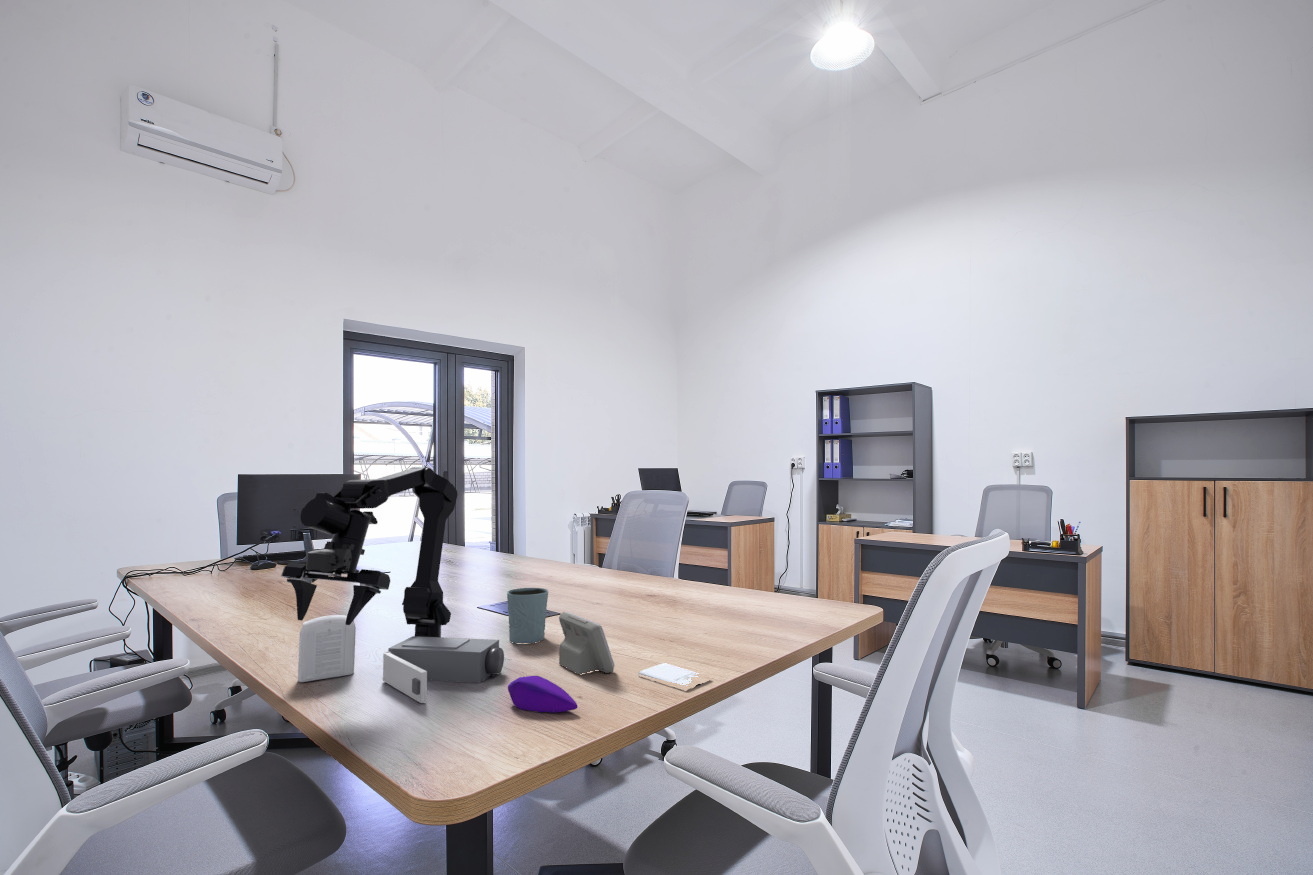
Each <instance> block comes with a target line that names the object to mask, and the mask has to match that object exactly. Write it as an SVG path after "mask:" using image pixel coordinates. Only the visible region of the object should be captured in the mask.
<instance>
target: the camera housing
mask: <svg viewBox="0 0 1313 875" xmlns="http://www.w3.org/2000/svg"><path fill="white" fill-rule="evenodd" d="M388 651H391V654H393V655H395V656H397V657H399V658H401V659H403V660H405V661H407V662H409V663H411V664H413V665H415V666H417V667H419V668H421V669H423V670H425V671H427V681H433V682H434V681H435V682H436V681H437V682H457V683H472V684H473V683H474V684H476V683H477V684H481V683H482V682H484V681H485V680H486V679H487V678H488V677H490V676H491V675H499V674H500V673H501V672H502V669H503V667H504V662H505V654H504V653H505V652H504V650H503V648H502V647H500V639H492V638H490V639H489V638H467V637H465V638H462V637H445V636H443V637H442V636H441V637H420V636H415V635H413V636H411V637H408V638H406V639H404V640H402V641H400V642H399V643H396V644H394V645H392V646H390V647H388ZM388 651H387V652H388Z"/></svg>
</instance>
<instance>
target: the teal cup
mask: <svg viewBox="0 0 1313 875" xmlns="http://www.w3.org/2000/svg"><path fill="white" fill-rule="evenodd" d="M506 596H507V611H508V628H509V629H508V630H509V631H508V632H509V634H508V637H509V642H510V641H511V642H513V643H512V644H514V643H534V644H536V643H535V642H538V643H540V642H539V641H541V640H543V639H545V633H546V632H545V630H546V620H547V619H546V617H547V611H548V610H547V606H548V600H549V590H548V589H546V588H541V587H522V588H521V587H520V588H515V589H509V590H508V591H507V592H506ZM543 641H544V640H543ZM511 642H510V643H511ZM541 642H542V641H541Z"/></svg>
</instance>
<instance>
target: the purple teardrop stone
mask: <svg viewBox="0 0 1313 875" xmlns="http://www.w3.org/2000/svg"><path fill="white" fill-rule="evenodd" d="M507 691H508V693H509V697H510V700H511V702H512V704H513V706H515V707H516V708H518V709H520V710H522V711H526V710H529V711H528V712H532V711H537V712H536V713H542V712H549V713H551V714H552V713H564V712H568V711H569V712H570V711H574V710H577V709H578V703H577V702H576V700H575V699H573V697H572V696H571V695H570V694H569V693H568V692H567V691H566V690H564V689H563V688H562V687H560V686H559V685H558V684H556V683H554V682H553V681H552V680H549V679H547V678H545V677H542V676H540V675H528V676H527V675H526V676H519V677H518V678H516V679H514V680H513V681H511V682H510V683H509V684H508V685H507ZM549 713H548V714H549Z"/></svg>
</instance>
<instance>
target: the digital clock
mask: <svg viewBox="0 0 1313 875" xmlns="http://www.w3.org/2000/svg"><path fill="white" fill-rule="evenodd" d="M558 620H559V621H558V622H559V624H560V626H561V630H562V634H563V636H564V638H563V640H562V641H561V643H560V644H559V647H558V650H559V651H558V655H559V657H558V665H559V664H560V666H561V665H563V666H565V667H567V668H568V669H567V668H566V669H567V670H569V669H570V670H572V671H574V672H576V673H578V674H582V673H587V672H590V671H595V670H600V671H599V672H602V671H603V672H602V673H604V672H605V674H610V673H609V672H611V673H613V672H614V670H615V662H614V659H613V657H612V654H611V650H610V647H609V644H608V640H607V638H606V634H605V631H604V629H603V626H602V625H601V624H600V623H598V622H595V621H592V620H590V619H588V618H585V617H582V616H580V615H577V614H575V613H572V612H566V611H563V612H562V613H560V614H559V617H558ZM563 666H562V667H563ZM565 667H564V668H565ZM570 670H569V671H570ZM572 671H571V672H572ZM574 672H573V673H574ZM576 673H575V674H576ZM578 674H577V675H578Z"/></svg>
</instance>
